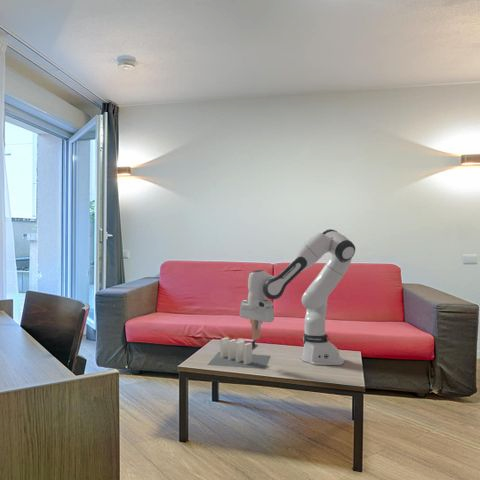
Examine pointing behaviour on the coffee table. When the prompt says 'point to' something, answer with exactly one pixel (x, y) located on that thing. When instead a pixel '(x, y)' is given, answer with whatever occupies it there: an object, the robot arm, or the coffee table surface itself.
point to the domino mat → (241, 362)
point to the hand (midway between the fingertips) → (256, 328)
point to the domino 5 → (255, 330)
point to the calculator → (246, 341)
